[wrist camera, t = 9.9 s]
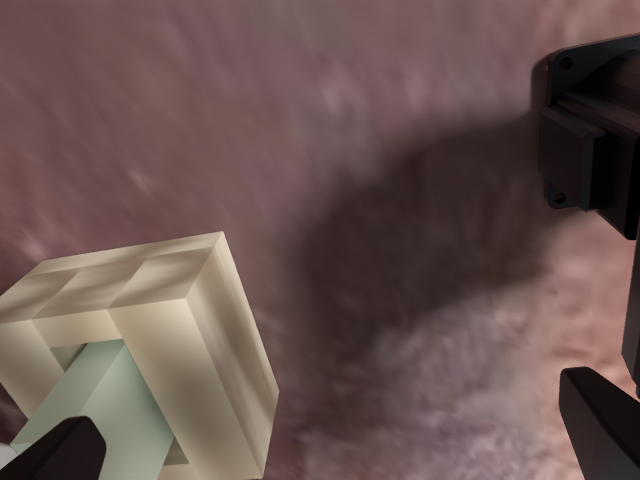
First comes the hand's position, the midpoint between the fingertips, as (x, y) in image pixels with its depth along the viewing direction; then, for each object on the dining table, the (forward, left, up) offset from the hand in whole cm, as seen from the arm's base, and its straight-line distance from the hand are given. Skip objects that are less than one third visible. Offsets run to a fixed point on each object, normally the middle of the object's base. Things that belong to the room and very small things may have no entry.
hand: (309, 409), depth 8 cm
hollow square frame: (+11, +7, -13) cm, 19 cm away
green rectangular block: (+11, +7, -12) cm, 17 cm away
